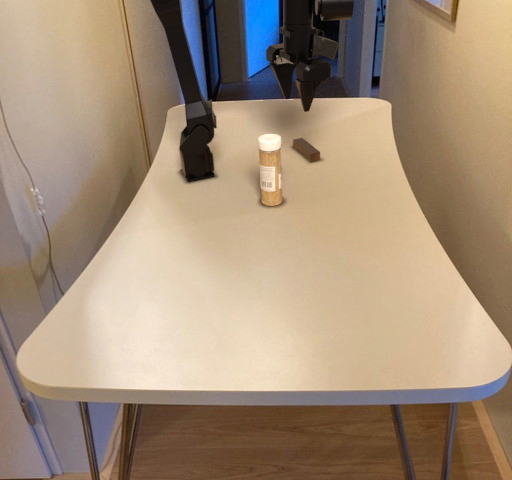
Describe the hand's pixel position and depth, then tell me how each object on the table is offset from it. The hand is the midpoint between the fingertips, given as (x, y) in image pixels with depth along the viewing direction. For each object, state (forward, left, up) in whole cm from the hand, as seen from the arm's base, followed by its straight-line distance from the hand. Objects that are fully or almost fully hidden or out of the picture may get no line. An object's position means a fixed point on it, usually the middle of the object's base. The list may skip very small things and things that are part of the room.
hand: (296, 105), depth 117 cm
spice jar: (-12, -13, -14) cm, 22 cm away
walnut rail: (+5, +6, -14) cm, 16 cm away
